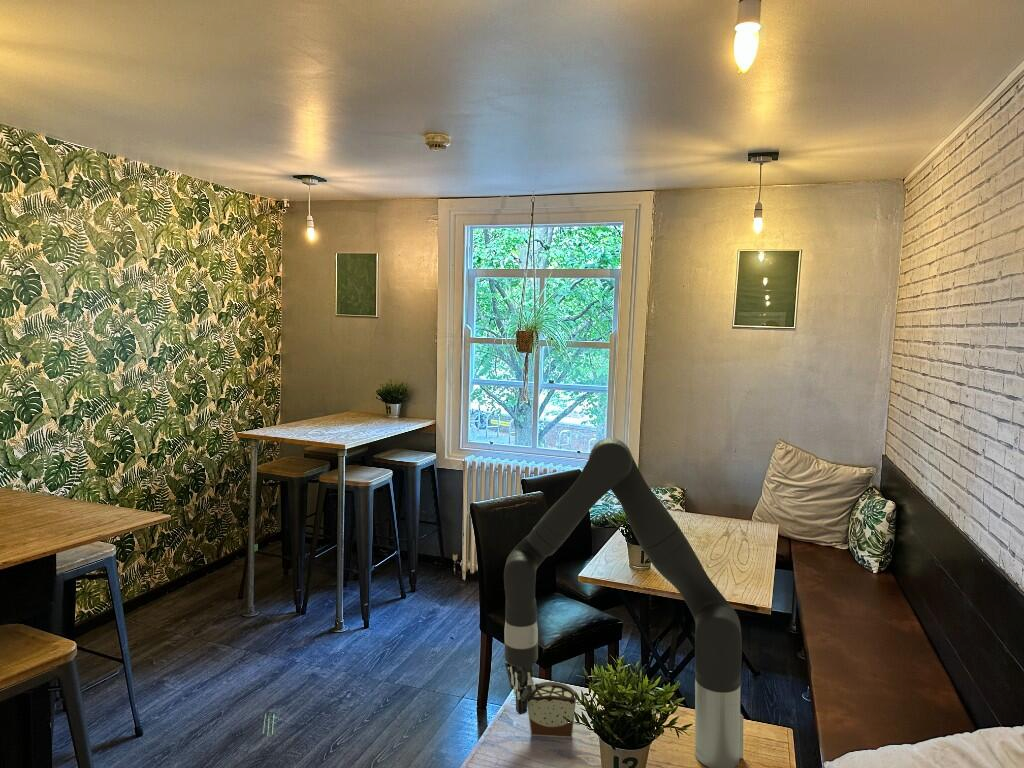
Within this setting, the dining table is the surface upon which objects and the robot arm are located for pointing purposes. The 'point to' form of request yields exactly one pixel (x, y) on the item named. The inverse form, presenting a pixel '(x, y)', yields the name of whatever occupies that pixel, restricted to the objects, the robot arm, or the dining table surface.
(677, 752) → the dining table surface
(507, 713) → the dining table surface
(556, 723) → the food container
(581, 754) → the dining table surface
